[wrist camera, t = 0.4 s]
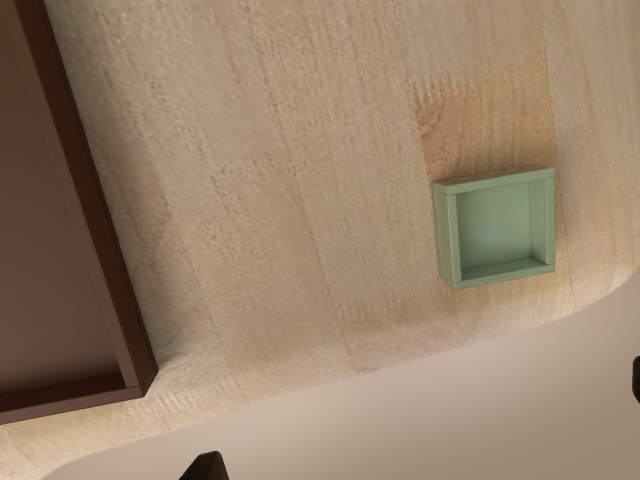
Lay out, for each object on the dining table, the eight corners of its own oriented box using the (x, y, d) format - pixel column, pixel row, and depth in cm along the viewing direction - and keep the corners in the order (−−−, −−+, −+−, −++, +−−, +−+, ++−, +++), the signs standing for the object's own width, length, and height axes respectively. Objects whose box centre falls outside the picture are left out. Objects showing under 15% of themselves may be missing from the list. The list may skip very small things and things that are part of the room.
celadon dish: (531, 260, 24) (555, 271, 22) (439, 277, 24) (454, 290, 22) (530, 164, 23) (555, 167, 21) (431, 181, 22) (446, 186, 20)
